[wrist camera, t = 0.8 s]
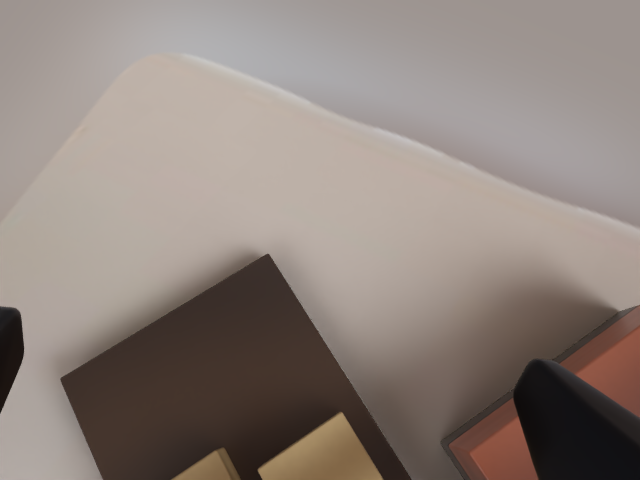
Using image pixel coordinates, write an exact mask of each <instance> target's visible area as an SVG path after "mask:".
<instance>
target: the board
mask: <svg viewBox="0 0 640 480" xmlns="http://www.w3.org/2000/svg"><path fill="white" fill-rule="evenodd" d="M61 382H62V385H63V387H64V389H65V392H66V394H67V396H68V399H69V401H70V403H71V406H72V408H73V410H74V413H75V415H76V417H77V420H78V422H79V424H80V427H81V429H82V431H83V434H84V436H85V438H86V441H87V443H88V445H89V448H90V450H91V452H92V455H93V457H94V460H95V462H96V464H97V467H98V469H99V471H100V474H101V476H102V478H103V480H171V479H173V478H174V477H176V476H177V475H179V474H180V473H182V472H183V471H185V470H186V469H188V468H189V467H191V466H192V465H194V464H195V463H197V462H198V461H200V460H201V459H203V458H204V457H206V456H207V455H209V454H210V453H212V452H213V451H215V450H217V449H220V448H223V447H224V448H225V450H226V452H227V454H228V455H229V457H230V459H231V461H232V463H233V465H234V467H235V469H236V471H237V473H238V475H239V477H240V479H241V480H262V478H261V476H260V474H259V472H258V468H259V467H261V466H262V465H263V464H264V463H266V462H267V461H269V460H270V459H271V458H273V457H274V456H276V455H277V454H279V453H280V452H282V451H283V450H285V449H286V448H288V447H289V446H290V445H292V444H293V443H295V442H296V441H298V440H299V439H301V438H302V437H304V436H305V435H307V434H308V433H309V432H311V431H312V430H314V429H315V428H317V427H318V426H320V425H321V424H323V423H324V422H326V421H327V420H328V419H330V418H331V417H333V416H334V415H336V414H337V413H339V412H342V413H343V414H344V416H345V418H346V419H347V421H348V422H349V424H350V426H351V427H352V429H353V431H354V432H355V434H356V436H357V437H358V439H359V440H360V442H361V444H362V445H363V447H364V449H365V450H366V452H367V453H368V455H369V457H370V458H371V460H372V462H373V463H374V465H375V466H376V468H377V470H378V471H379V473H380V475H381V476H382V478H383V480H411V478H410V476H409V475H408V473H407V472H406V470H405V468H404V467H403V465H402V464H401V462H400V461H399V459H398V457H397V456H396V454H395V453H394V451H393V449H392V448H391V446H390V445H389V443H388V442H387V440H386V438H385V437H384V435H383V434H382V432H381V431H380V429H379V427H378V426H377V424H376V423H375V421H374V419H373V418H372V416H371V415H370V413H369V412H368V410H367V408H366V407H365V405H364V404H363V402H362V400H361V399H360V397H359V396H358V394H357V393H356V391H355V389H354V388H353V386H352V385H351V383H350V381H349V380H348V378H347V377H346V375H345V374H344V372H343V370H342V369H341V367H340V366H339V364H338V362H337V361H336V359H335V358H334V356H333V355H332V353H331V351H330V350H329V348H328V347H327V345H326V343H325V342H324V340H323V339H322V337H321V336H320V334H319V332H318V331H317V329H316V328H315V326H314V325H313V323H312V321H311V320H310V318H309V317H308V315H307V313H306V312H305V310H304V309H303V307H302V306H301V304H300V302H299V301H298V299H297V298H296V296H295V294H294V293H293V291H292V290H291V288H290V287H289V285H288V283H287V282H286V280H285V279H284V277H283V275H282V274H281V272H280V271H279V269H278V268H277V266H276V264H275V263H274V261H273V260H272V258H271V256H270V255H269V254H266V255H264V256H263V257H261V258H259V259H258V260H256V261H254V262H253V263H251V264H249V265H248V266H246V267H244V268H243V269H241V270H240V271H238V272H236V273H235V274H233V275H231V276H230V277H228V278H226V279H225V280H223V281H221V282H220V283H218V284H216V285H215V286H213V287H211V288H210V289H208V290H206V291H205V292H203V293H201V294H200V295H198V296H196V297H195V298H193V299H191V300H190V301H188V302H186V303H185V304H183V305H181V306H180V307H178V308H176V309H175V310H173V311H171V312H170V313H168V314H166V315H165V316H163V317H161V318H160V319H158V320H157V321H155V322H153V323H152V324H150V325H148V326H147V327H145V328H143V329H142V330H140V331H138V332H137V333H135V334H133V335H132V336H130V337H128V338H127V339H125V340H123V341H122V342H120V343H118V344H117V345H115V346H113V347H112V348H110V349H108V350H107V351H105V352H103V353H102V354H100V355H98V356H97V357H95V358H93V359H92V360H90V361H88V362H87V363H85V364H83V365H82V366H80V367H78V368H77V369H75V370H74V371H72V372H70V373H69V374H67V375H65V376H64V377H62V378H61Z"/></svg>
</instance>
